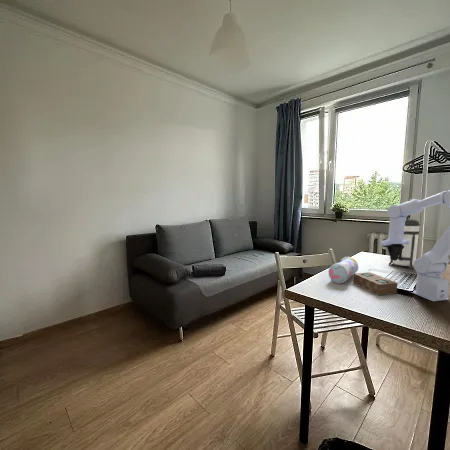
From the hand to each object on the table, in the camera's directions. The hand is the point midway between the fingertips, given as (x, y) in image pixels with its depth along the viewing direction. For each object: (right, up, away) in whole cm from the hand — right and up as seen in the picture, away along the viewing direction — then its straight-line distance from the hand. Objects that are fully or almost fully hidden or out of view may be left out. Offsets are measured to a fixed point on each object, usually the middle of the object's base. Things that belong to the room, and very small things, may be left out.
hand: (393, 259), depth 111 cm
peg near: (-13, -12, -11) cm, 20 cm away
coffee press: (+22, -8, +25) cm, 34 cm away
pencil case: (-21, -10, +5) cm, 24 cm away
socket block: (-14, -11, -7) cm, 19 cm away
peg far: (-14, -11, -3) cm, 18 cm away
